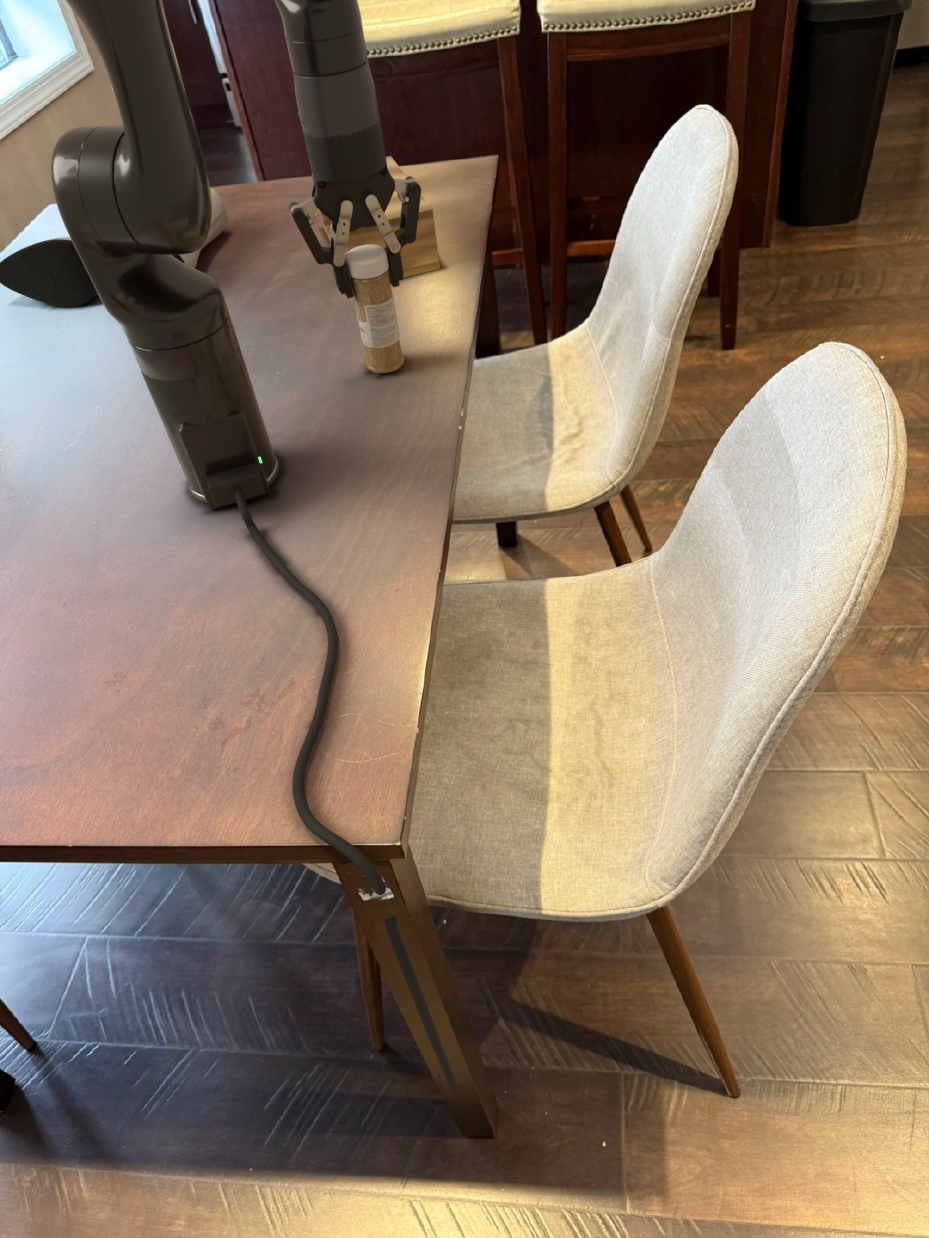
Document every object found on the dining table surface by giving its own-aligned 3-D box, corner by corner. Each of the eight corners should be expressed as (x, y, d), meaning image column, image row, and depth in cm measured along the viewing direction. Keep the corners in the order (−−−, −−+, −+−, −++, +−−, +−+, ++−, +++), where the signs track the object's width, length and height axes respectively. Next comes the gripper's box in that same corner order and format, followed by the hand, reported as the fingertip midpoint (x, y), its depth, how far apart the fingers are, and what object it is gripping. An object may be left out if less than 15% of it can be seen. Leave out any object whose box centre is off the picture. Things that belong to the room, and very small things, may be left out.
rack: (440, 268, 118) (432, 208, 112) (355, 289, 116) (343, 229, 111) (399, 211, 133) (390, 155, 127) (323, 229, 131) (311, 173, 125)
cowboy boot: (164, 250, 112) (232, 176, 129) (-28, 237, 116) (63, 167, 133) (183, 318, 119) (246, 239, 136) (1, 304, 123) (84, 229, 139)
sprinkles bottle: (365, 358, 103) (342, 247, 94) (403, 352, 103) (383, 239, 94) (368, 378, 100) (345, 265, 90) (407, 371, 100) (388, 257, 91)
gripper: (273, 146, 79) (315, 320, 92) (422, 114, 81) (443, 288, 94) (261, 123, 84) (302, 290, 97) (401, 93, 86) (424, 261, 99)
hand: (372, 288), depth 95 cm, fingers closed on sprinkles bottle, 4 cm apart
